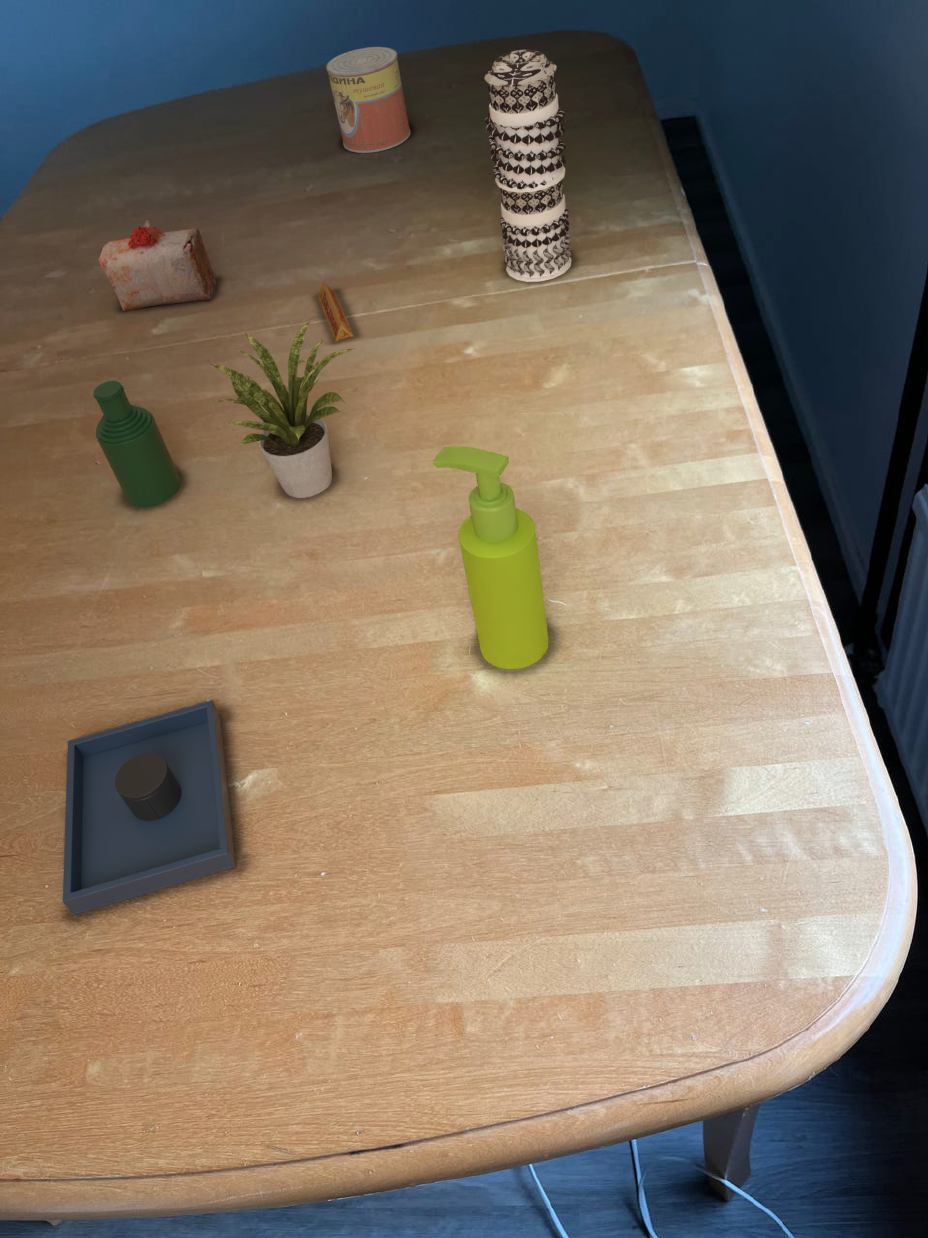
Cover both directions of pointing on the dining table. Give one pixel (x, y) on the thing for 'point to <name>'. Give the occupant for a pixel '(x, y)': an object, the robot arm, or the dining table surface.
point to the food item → (158, 268)
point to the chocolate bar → (334, 313)
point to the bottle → (134, 448)
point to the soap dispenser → (500, 563)
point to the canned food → (369, 99)
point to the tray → (133, 848)
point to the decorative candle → (529, 164)
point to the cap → (148, 787)
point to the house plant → (289, 418)
